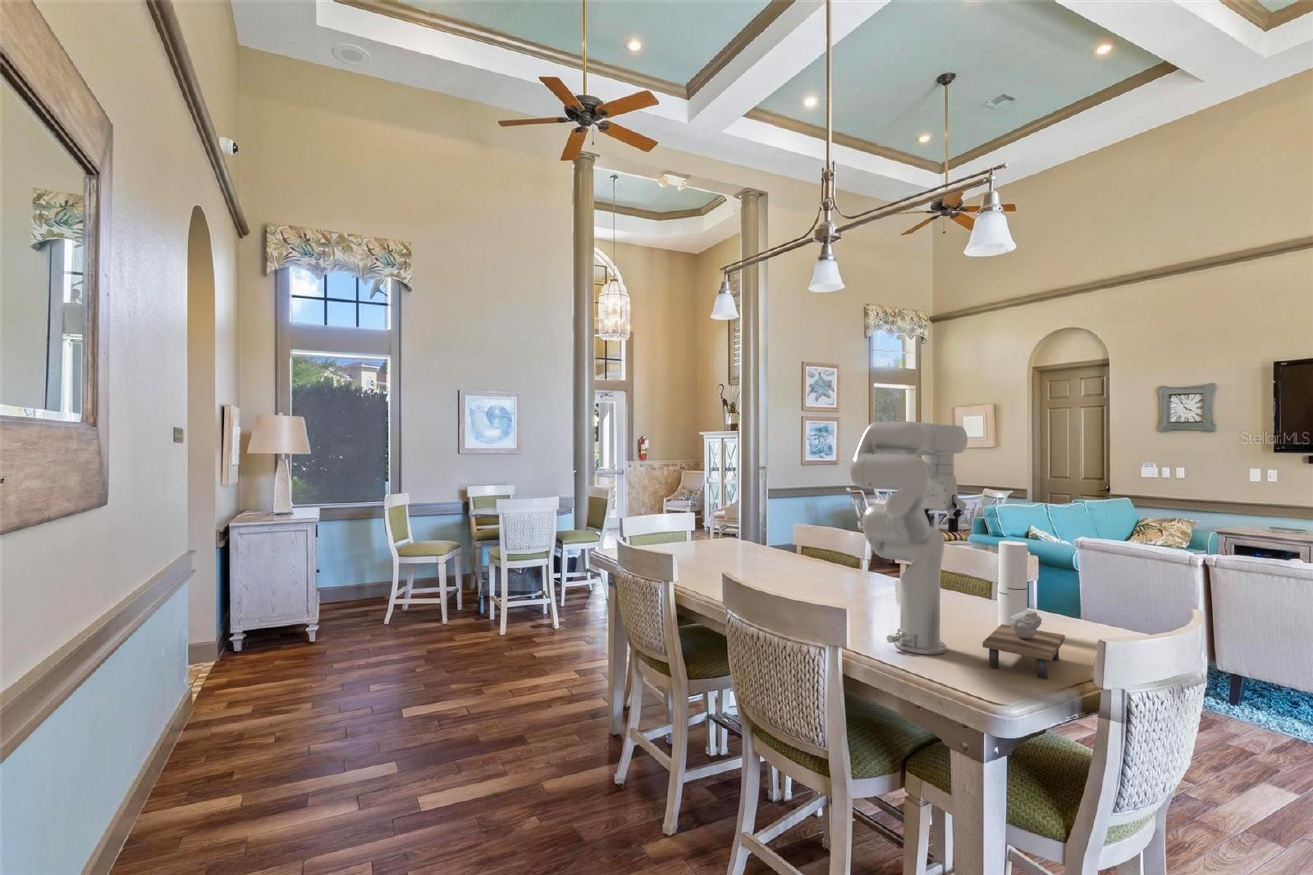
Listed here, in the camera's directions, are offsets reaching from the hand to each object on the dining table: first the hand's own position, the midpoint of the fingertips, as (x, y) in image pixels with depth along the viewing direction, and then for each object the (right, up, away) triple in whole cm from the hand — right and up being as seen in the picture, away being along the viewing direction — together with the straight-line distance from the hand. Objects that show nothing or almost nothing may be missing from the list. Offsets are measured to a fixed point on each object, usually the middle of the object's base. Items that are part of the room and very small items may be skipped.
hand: (938, 529), depth 182 cm
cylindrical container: (+20, -29, -2) cm, 35 cm away
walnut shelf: (+8, -28, -28) cm, 41 cm away
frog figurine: (+8, -23, -28) cm, 37 cm away
